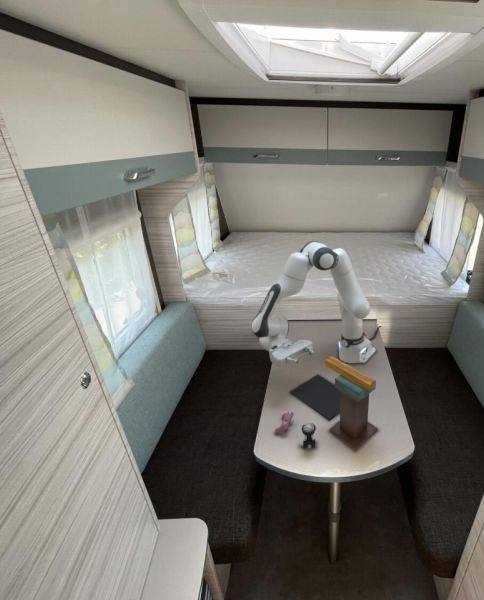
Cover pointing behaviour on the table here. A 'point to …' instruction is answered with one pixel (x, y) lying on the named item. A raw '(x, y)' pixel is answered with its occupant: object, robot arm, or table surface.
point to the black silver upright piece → (308, 435)
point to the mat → (320, 396)
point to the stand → (353, 413)
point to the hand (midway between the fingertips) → (304, 357)
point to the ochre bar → (350, 373)
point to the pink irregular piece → (284, 422)
